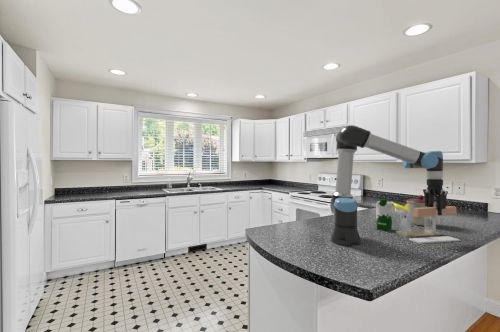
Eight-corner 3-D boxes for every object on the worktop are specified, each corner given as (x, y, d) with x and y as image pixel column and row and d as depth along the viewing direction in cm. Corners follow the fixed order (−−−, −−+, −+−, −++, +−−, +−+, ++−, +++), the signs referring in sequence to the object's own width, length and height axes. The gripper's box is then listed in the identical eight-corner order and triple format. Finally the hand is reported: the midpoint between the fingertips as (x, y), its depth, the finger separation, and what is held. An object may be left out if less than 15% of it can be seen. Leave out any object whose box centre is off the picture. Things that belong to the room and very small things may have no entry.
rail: (417, 217, 138) (417, 208, 138) (413, 216, 141) (413, 207, 141) (456, 214, 143) (456, 207, 143) (451, 213, 146) (451, 206, 146)
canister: (409, 226, 176) (409, 196, 176) (403, 220, 193) (403, 193, 193) (440, 228, 170) (440, 197, 170) (431, 222, 187) (431, 194, 187)
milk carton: (374, 229, 166) (375, 199, 166) (379, 227, 173) (379, 197, 173) (389, 232, 160) (389, 200, 160) (393, 229, 167) (393, 199, 167)
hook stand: (406, 236, 149) (406, 214, 149) (395, 233, 157) (395, 212, 157) (439, 235, 154) (440, 213, 154) (428, 231, 161) (428, 211, 161)
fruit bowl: (437, 217, 209) (437, 203, 209) (422, 221, 194) (422, 206, 194) (401, 212, 232) (401, 199, 232) (385, 215, 217) (386, 201, 217)
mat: (419, 243, 136) (419, 242, 136) (408, 239, 143) (408, 238, 143) (460, 241, 141) (460, 239, 141) (448, 237, 148) (448, 236, 148)
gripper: (454, 179, 135) (454, 223, 135) (427, 178, 151) (427, 217, 150) (442, 179, 133) (443, 223, 133) (416, 178, 149) (417, 217, 149)
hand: (435, 220), depth 142 cm, fingers closed on rail, 3 cm apart
